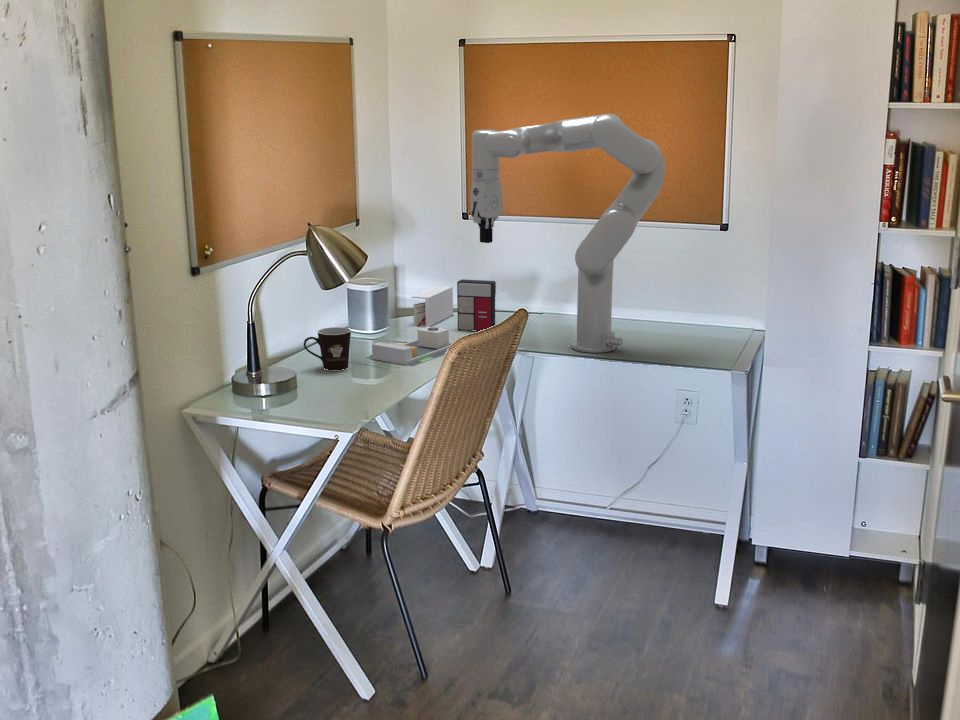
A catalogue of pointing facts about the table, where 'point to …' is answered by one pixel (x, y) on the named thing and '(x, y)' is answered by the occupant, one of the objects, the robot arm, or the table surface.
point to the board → (404, 353)
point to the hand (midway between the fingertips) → (486, 242)
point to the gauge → (433, 337)
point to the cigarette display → (433, 306)
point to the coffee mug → (333, 347)
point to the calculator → (476, 304)
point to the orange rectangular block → (414, 350)
